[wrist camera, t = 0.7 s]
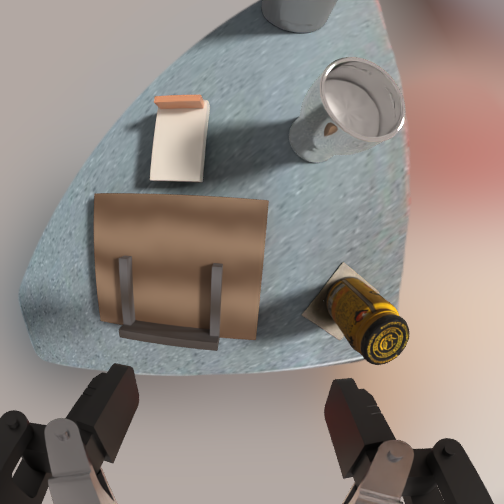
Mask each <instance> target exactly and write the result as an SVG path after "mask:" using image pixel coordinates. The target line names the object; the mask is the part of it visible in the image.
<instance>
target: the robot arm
mask: <svg viewBox="0 0 504 504" xmlns="http://www.w3.org/2000/svg"><path fill="white" fill-rule="evenodd" d="M336 2H337V0H262V7H261V9H262V13H263V15H264V17H265V18H266V19H267V20H268V21H269V22H270V23H272V24H273V25H275V26H277V27H279V28H281V29H284V30H287V31H291V32H298V33H308V32H313V31H316V30H318V29H320V28H322V27H323V26H324V25H325V23H326V22H327V20H328V18H329V16H330V14H331V12H332V10H333V8H334V6H335V4H336ZM138 404H139V393H138V388H137V384H136V379H135V374H134V370H133V368H132V367H131V366H126V365H121V364H116V363H115V364H113V365H112V366H111V368H110V369H109V371H108V372H107V373H101V374H99V375H98V376H96V377H95V378H93V379H92V381H91V382H90V384H89V385H88V388H86V389H85V391H84V392H83V395H81V396H80V398H79V399H78V401H77V402H76V403H75V405H74V407H73V408H72V409H71V411H70V412H69V414H68V415H67V417H66V418H58V419H55V420H52V421H51V422H49V423H48V424H47V425H41V424H35V423H29V421H28V419H27V418H26V416H25V415H24V414H23V413H22V412H19V411H14V410H13V411H9V412H6V413H5V414H4V415H3V416H2V417H1V418H0V504H42V501H43V499H44V496H45V494H46V491H47V489H48V487H49V489H50V493H51V497H52V500H53V503H54V504H118V503H117V501H116V499H115V497H114V495H113V493H112V491H111V488H110V486H109V484H108V482H107V480H106V477H105V475H104V472H103V470H102V468H101V465H102V463H103V461H107V462H110V463H114V461H115V458H116V456H117V453H118V451H119V449H120V446H121V444H122V441H123V439H124V437H125V435H126V432H127V430H128V427H129V425H130V423H131V421H132V418H133V416H134V414H135V411H136V409H137V407H138ZM324 415H325V420H326V423H327V427H328V430H329V433H330V436H331V440H332V443H333V446H334V449H335V453H336V456H337V459H338V462H339V466H340V468H341V472H342V476H343V478H349V477H353V478H354V481H355V483H354V484H353V486H352V487H351V489H350V491H349V493H348V494H347V496H346V498H345V500H344V501H343V503H342V504H403V502H400V498H401V496H403V499H404V502H405V504H494V503H493V501H492V499H491V497H490V495H489V493H488V491H487V489H486V488H485V486H484V484H483V482H482V480H481V479H480V477H479V475H478V473H477V471H476V469H475V468H474V466H473V464H472V463H471V461H470V459H469V457H468V455H467V454H466V452H465V450H464V449H463V447H462V446H461V444H460V443H459V442H457V441H456V440H454V439H448V438H445V439H441V440H439V441H438V442H437V443H436V444H435V445H434V447H433V448H428V449H412V448H411V446H410V445H409V444H407V443H406V442H404V441H401V440H396V439H395V437H394V435H393V433H392V431H391V429H390V427H389V425H388V424H387V422H386V420H385V418H384V416H383V414H381V411H380V409H379V407H378V406H377V403H376V401H375V400H374V398H373V396H372V395H371V394H369V393H368V392H367V391H366V390H365V389H358V387H357V385H356V383H355V381H354V380H353V379H352V378H347V379H335V380H333V382H332V385H331V388H330V391H329V395H328V398H327V401H326V404H325V409H324ZM21 457H22V461H21V462H20V464H19V466H18V468H17V470H16V472H15V474H14V476H13V478H12V472H13V470H14V469H15V467H16V465H17V463H18V461H19V459H20V458H21ZM438 488H439V489H438ZM439 490H440V491H439ZM440 492H441V493H440ZM442 497H443V498H442ZM443 499H444V500H443Z"/></svg>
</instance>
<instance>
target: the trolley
mask: <svg viewBox="0 0 504 504" xmlns="http://www.w3.org/2000/svg"><path fill="white" fill-rule="evenodd" d="M154 103H155V104H156V105H157V106H158V112H157V118H156V126H155V133H154V141H153V150H152V160H151V172H150V180H152V181H179V182H203V170H204V159H205V148H206V138H207V129H208V120H209V111H210V105H209V102H208V100H203V99H202V96H201V95H171V96H155V100H154Z"/></svg>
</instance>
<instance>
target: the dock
mask: <svg viewBox="0 0 504 504" xmlns="http://www.w3.org/2000/svg"><path fill="white" fill-rule="evenodd" d="M268 202H269V201H268V200H257V199H244V198H230V197H215V196H196V195H172V194H132V193H100V194H95V196H94V254H95V272H96V284H97V295H98V304H99V312H100V319H101V321H104V322H109V323H115V324H120V325H122V327H121V328H120V329H119V335H120V337H122V338H127V339H132V340H138V341H144V342H150V343H157V344H163V345H171V346H178V347H186V348H195V349H204V350H215V351H217V350H218V344H219V338H233V339H248V340H256V332H257V322H258V312H259V302H260V291H261V281H262V270H263V259H264V248H265V237H266V225H267V214H268Z"/></svg>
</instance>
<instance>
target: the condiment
mask: <svg viewBox="0 0 504 504" xmlns="http://www.w3.org/2000/svg"><path fill="white" fill-rule="evenodd" d="M379 293H380V292H378V291H377V290H376V289H375V288H374V287H373V286H371V285H370V284H369V283H368V282H367V281H366V280H364V279H363V278H362V277H361V276H360V275H358V274H357V273H356V272H355V271H354V270H352V269H351V268H350V267H349V266H348V265H346V264H345V263H344V262H343V263H342V265H341V266H340V267H339V268H338V270H337V271H336V272H335V273H334V275H333V276H332V277H331V278H330V280H329V281H328V282H327V284H326V285H325V286H324V288H323V289H322V290H321V291H320V293H319V294H318V296H316V298H315V299H314V300H313V301H312V302H311V304H310V305H309V306H308V308H307V309H306V310H305V311H304V313H303V314H302V316H304V317H305V318H307V319H308V320H310V321H312V322H313V323H315V324H316V325H318V326H319V327H321V328H322V329H324V330H325V331H327V332H328V333H330V334H331V335H333V336H334V337H336V338H337V339H339V340H341V339H342V338H343V337H344V336H345V338H346V339H347V341H348V342H349V344H350V345H351V347H352V348H353V349H354V350H356V351H357V352H359V353H360V354H361V355H362V356H363V357H364V359H365V360H367V361H368V362H369V363H371V364H375V365H381V364H385V363H388V362H390V361H392V360H393V359H395V358H396V357H397V356H398V355H400V353H401V352H402V351H403V349H404V348H405V347H406V344H407V342H408V339H409V328H408V326H407V323H406V321H405V320H404V319H403V318H401V317H400V316H399V313H398V311H397V310H396V308H395V307H394V306H393V305H392V304H390V302H388V301H387V300H385V299H384V298H383V297H382V296H380V295H379ZM323 300H324V301H323Z"/></svg>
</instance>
